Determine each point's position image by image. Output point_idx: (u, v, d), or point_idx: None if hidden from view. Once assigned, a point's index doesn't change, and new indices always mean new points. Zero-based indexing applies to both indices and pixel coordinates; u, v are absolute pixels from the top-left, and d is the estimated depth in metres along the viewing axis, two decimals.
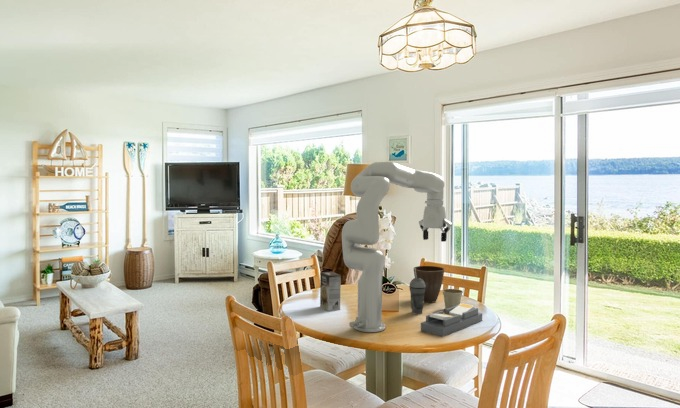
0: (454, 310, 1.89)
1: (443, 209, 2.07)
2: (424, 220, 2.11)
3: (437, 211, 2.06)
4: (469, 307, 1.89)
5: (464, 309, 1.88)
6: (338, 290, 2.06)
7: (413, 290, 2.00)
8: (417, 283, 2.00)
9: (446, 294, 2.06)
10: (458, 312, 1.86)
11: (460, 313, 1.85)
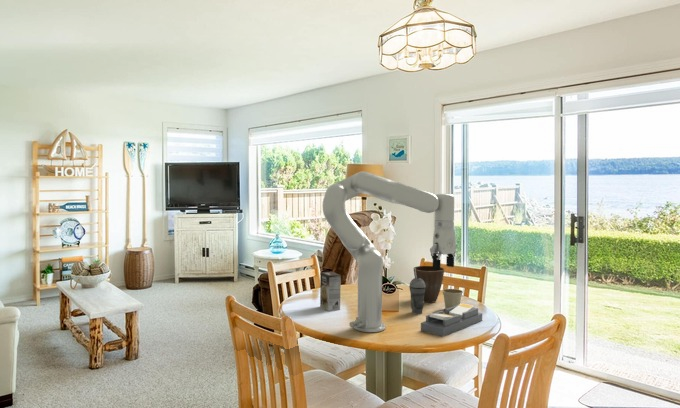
0: (454, 310, 1.89)
1: None
2: (444, 246, 1.76)
3: (453, 234, 1.81)
4: (469, 307, 1.89)
5: (464, 309, 1.88)
6: (338, 290, 2.06)
7: (413, 290, 2.00)
8: (417, 283, 2.00)
9: (446, 294, 2.06)
10: (458, 312, 1.86)
11: (460, 313, 1.85)
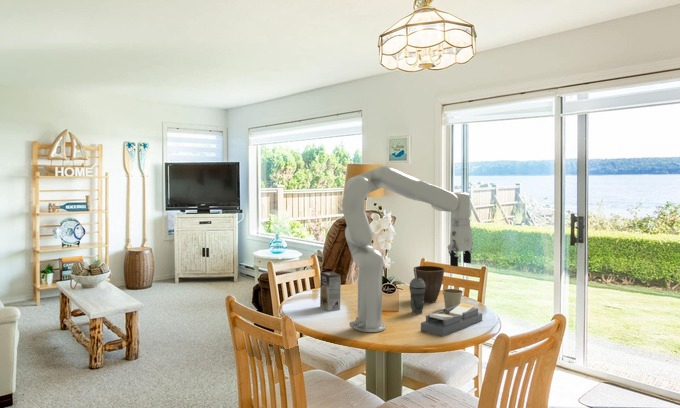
0: (454, 310, 1.89)
1: None
2: (461, 243, 1.82)
3: (470, 231, 1.87)
4: (469, 307, 1.89)
5: (464, 309, 1.88)
6: (338, 290, 2.06)
7: (413, 290, 2.00)
8: (417, 283, 2.00)
9: (446, 294, 2.06)
10: (458, 312, 1.86)
11: (460, 313, 1.85)
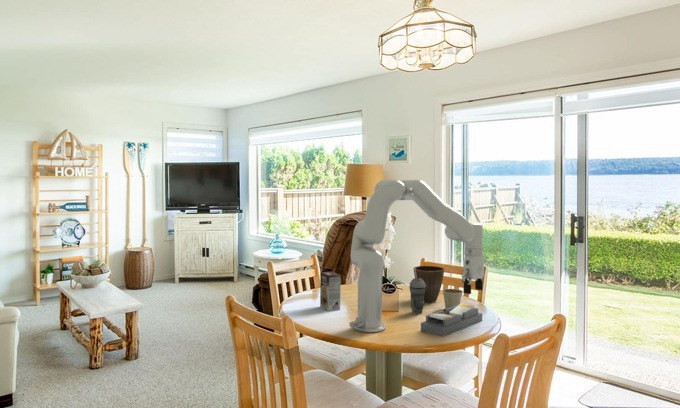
0: (454, 310, 1.89)
1: None
2: (474, 272, 1.90)
3: (482, 259, 1.95)
4: (469, 307, 1.89)
5: (464, 309, 1.88)
6: (338, 290, 2.06)
7: (413, 290, 2.00)
8: (417, 283, 2.00)
9: (446, 294, 2.06)
10: (458, 312, 1.86)
11: (460, 313, 1.85)
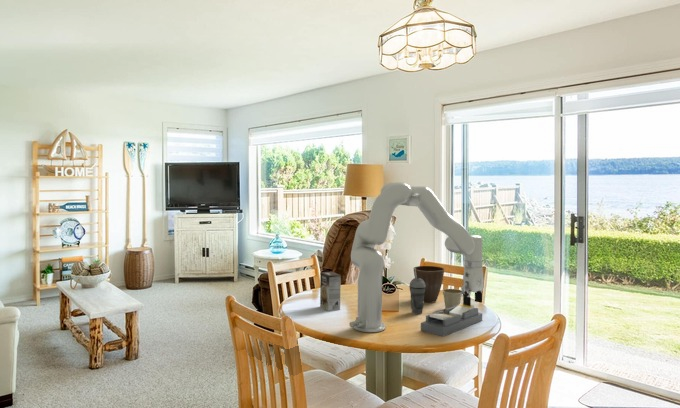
0: (454, 310, 1.89)
1: None
2: (474, 285, 1.90)
3: (482, 272, 1.95)
4: (469, 307, 1.89)
5: (464, 309, 1.88)
6: (338, 290, 2.06)
7: (413, 290, 2.00)
8: (417, 283, 2.00)
9: (446, 294, 2.06)
10: (458, 312, 1.86)
11: (460, 313, 1.85)
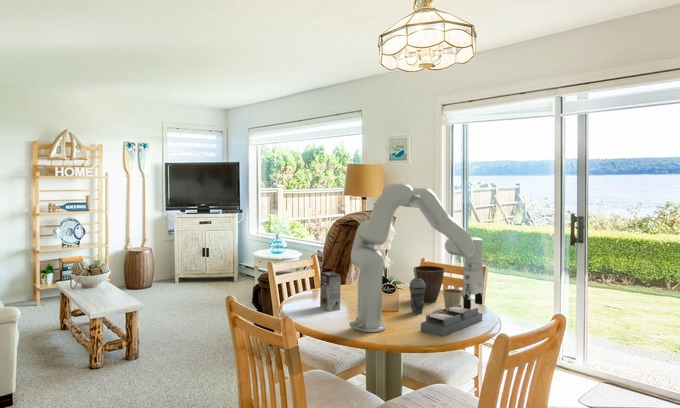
0: (454, 308, 1.89)
1: None
2: (474, 287, 1.91)
3: (482, 274, 1.96)
4: (469, 309, 1.89)
5: (464, 309, 1.88)
6: (338, 290, 2.06)
7: (413, 290, 2.00)
8: (417, 283, 2.00)
9: (446, 294, 2.06)
10: (458, 309, 1.86)
11: (460, 309, 1.85)
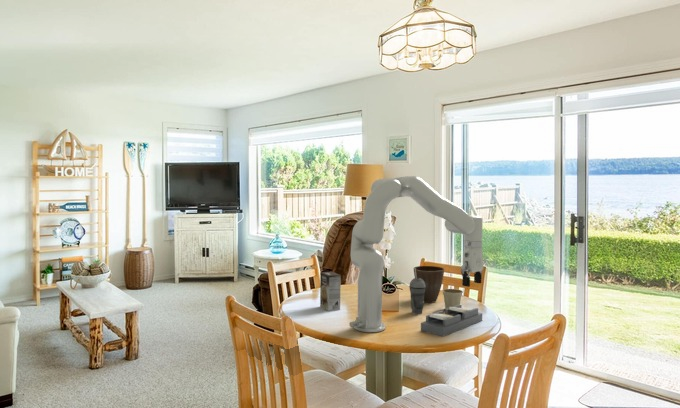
0: (454, 307, 1.89)
1: None
2: (473, 264, 1.90)
3: (481, 252, 1.95)
4: None
5: (464, 309, 1.89)
6: (338, 290, 2.06)
7: (413, 290, 2.00)
8: (417, 283, 2.00)
9: (446, 294, 2.06)
10: (458, 308, 1.86)
11: (460, 309, 1.85)
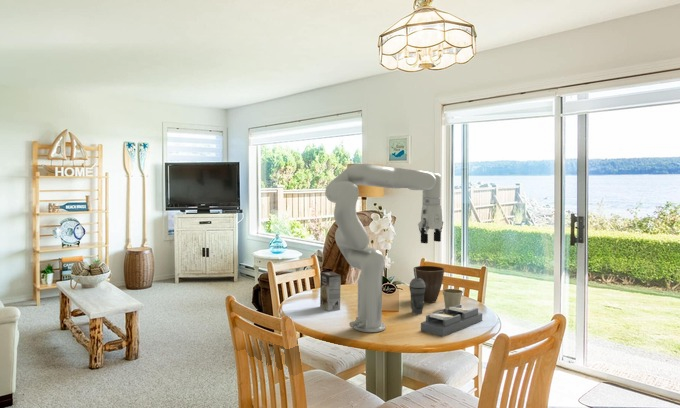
0: (454, 307, 1.89)
1: None
2: (431, 221, 1.90)
3: (440, 210, 1.95)
4: None
5: (464, 309, 1.89)
6: (338, 290, 2.06)
7: (413, 290, 2.00)
8: (417, 283, 2.00)
9: (446, 294, 2.06)
10: (458, 308, 1.86)
11: (460, 308, 1.85)
